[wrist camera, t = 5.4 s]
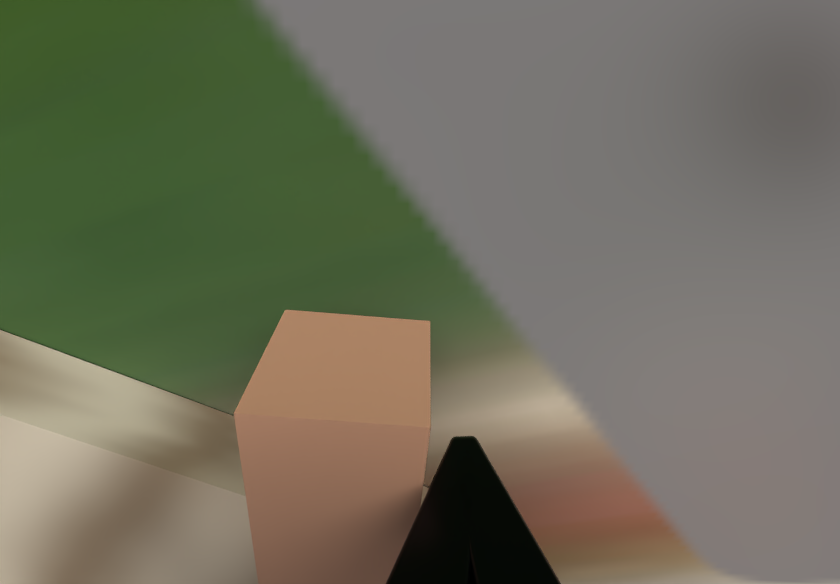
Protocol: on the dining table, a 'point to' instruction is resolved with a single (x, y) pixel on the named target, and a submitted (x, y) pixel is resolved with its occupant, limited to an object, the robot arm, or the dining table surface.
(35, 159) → the dining table surface
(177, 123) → the dining table surface
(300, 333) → the hinged leg
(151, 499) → the flat cream base board
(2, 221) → the dining table surface
